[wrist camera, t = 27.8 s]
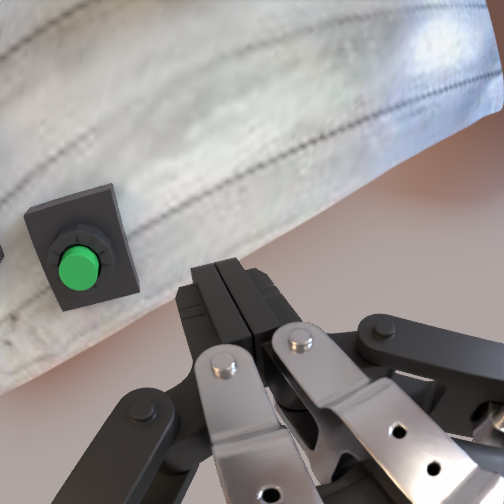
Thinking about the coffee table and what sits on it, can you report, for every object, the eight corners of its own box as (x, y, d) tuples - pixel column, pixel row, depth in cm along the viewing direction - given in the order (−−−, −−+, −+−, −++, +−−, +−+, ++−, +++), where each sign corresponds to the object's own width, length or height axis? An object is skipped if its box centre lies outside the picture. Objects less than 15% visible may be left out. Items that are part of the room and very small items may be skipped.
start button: (56, 250, 24) (52, 260, 22) (91, 240, 25) (89, 249, 23) (69, 284, 26) (67, 294, 24) (103, 275, 27) (102, 285, 25)
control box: (29, 207, 24) (17, 222, 21) (112, 182, 27) (109, 194, 23) (65, 300, 30) (60, 322, 26) (139, 281, 32) (141, 302, 29)
